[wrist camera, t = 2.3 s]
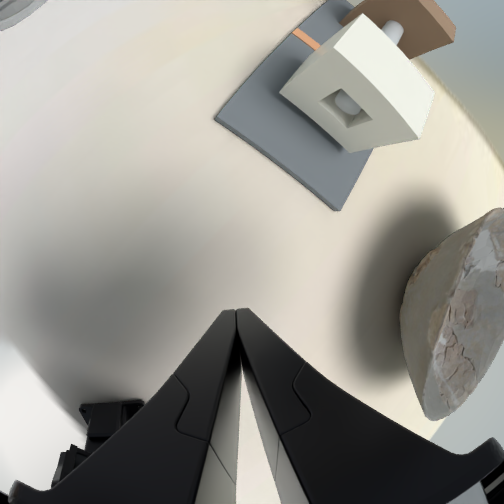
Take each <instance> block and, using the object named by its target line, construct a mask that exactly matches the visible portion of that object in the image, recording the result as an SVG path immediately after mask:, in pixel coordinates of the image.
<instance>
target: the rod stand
mask: <svg viewBox="0 0 504 504" xmlns="http://www.w3.org/2000/svg"><path fill="white" fill-rule="evenodd" d="M362 13H363V14H364V15H365V16H367V17H368V18H369V19H370V20H371V21H372V22H373V23H374V24H375V25H376V26H377V27H378V28H380V29H381V30H382V31H383V32H384V33H385V34H386V35H387V36H388V37H389V38H390V39H391V40H392V41H393V43H394V44H395V45H396V46H397V47H398V48H399V49H400V50H401V51H402V52H403V53H404V54H405V56H406V57H407V58H408V59H409V60H410V59H412V58H414V57H417V56H419V55H422V54H424V53H426V52H429V51H431V50H434V49H437V48H439V47H442V46H445V45H447V44H450V43H453V42H454V37H455V30H456V27H455V25H454V24H453V23H452V21H451V20H450V19H449V18H448V16H447V15H446V14H445V13H444V12H443V10H442V9H441V8H440V7H439V6H438V5H437V4H436V2H435V1H434V0H364V1H362V2H361V3H360V4H359V5H357V6H356V7H354V6H353V5H351V4H350V3H349V2H348V1H346V0H328V1H327V2H326V3H324V4H323V5H322V6H321V7H320V8H319V9H317V10H316V11H315V12H314V13H313V14H312V15H311V16H310V17H308V18H307V19H306V20H305V21H304V22H303V23H302V24H301V25H300V26H299V27H298V28H296V29H295V30H294V31H293V32H292V33H291V34H290V35H289V36H288V37H287V38H286V39H285V40H284V41H283V42H282V43H281V44H280V45H279V46H278V47H277V48H276V49H275V50H274V51H273V52H272V53H271V54H270V55H269V56H268V57H267V59H266V60H265V61H264V62H263V63H262V64H261V65H260V66H259V67H258V68H257V69H256V70H255V72H254V73H253V74H252V75H251V76H250V77H249V78H248V79H247V80H246V82H245V83H244V84H243V85H242V86H241V87H240V89H239V90H238V91H237V92H236V93H235V94H234V96H233V97H232V98H231V99H230V100H229V102H228V103H227V104H226V105H225V107H224V108H223V109H222V110H221V111H220V113H219V114H218V115H217V117H216V118H215V120H216V121H217V122H219V123H220V124H222V125H223V126H225V127H226V128H227V129H229V130H230V131H232V132H233V133H235V134H236V135H238V136H239V137H240V138H242V139H243V140H245V141H246V142H247V143H249V144H250V145H252V146H253V147H254V148H256V149H257V150H259V151H260V152H261V153H263V154H264V155H265V156H267V157H268V158H269V159H271V160H272V161H273V162H275V163H276V164H277V165H279V166H280V167H281V168H282V169H284V170H285V171H286V172H288V173H289V174H290V175H291V176H293V177H294V178H295V179H296V180H298V181H299V182H300V183H301V184H303V185H304V186H305V187H306V188H308V189H309V190H310V191H311V192H313V193H314V194H315V195H316V196H317V197H319V198H320V199H321V200H322V201H323V202H325V203H326V204H327V205H328V206H329V207H330V208H332V209H333V210H334V211H341V209H342V207H343V205H344V203H345V201H346V200H347V198H348V196H349V194H350V192H351V190H352V189H353V187H354V185H355V183H356V181H357V179H358V177H359V175H360V173H361V172H362V170H363V168H364V166H365V164H366V162H367V160H368V158H369V156H370V154H371V152H372V150H373V148H371V149H366V150H362V151H357V152H353V153H349V152H348V151H347V150H346V149H345V148H344V147H343V146H342V145H341V144H339V143H338V142H337V141H336V140H335V139H334V138H333V137H332V136H331V135H330V134H329V133H327V132H326V131H325V130H324V129H323V128H322V127H321V126H319V125H318V124H317V123H316V122H315V121H314V120H312V119H311V118H310V117H309V116H308V115H307V114H305V113H304V112H303V111H302V110H300V109H299V108H298V107H297V106H296V105H294V104H293V103H292V102H290V101H289V100H288V99H287V98H285V97H284V96H283V95H281V94H280V93H279V92H280V90H281V89H282V88H283V87H284V85H285V84H286V83H287V82H288V80H289V79H290V78H291V77H292V76H293V74H294V73H295V72H296V71H297V70H298V68H299V67H300V66H301V65H302V64H303V62H304V61H305V60H306V59H307V58H308V57H309V55H311V54H312V53H313V52H314V51H315V50H316V49H318V48H319V47H320V46H321V45H322V44H324V43H325V42H326V41H327V40H328V39H330V38H331V37H332V36H333V35H335V34H336V33H337V32H338V31H340V30H341V29H342V28H344V27H345V26H346V25H347V24H349V23H350V22H351V21H353V20H354V19H355V18H357V17H358V16H359V15H361V14H362ZM335 103H336V105H337V106H338V107H339V108H340V109H341V110H342V111H343V112H345V113H347V114H350V115H357V114H359V112H360V111H361V109H362V108H361V107H360V106H359V105H358V104H357V103H356V102H355V101H354V100H353V99H352V98H351V97H350V96H349V95H348V94H347V93H346V92H345V91H344V90H343V89H341V90H340V92H339V93H338V95H337V96H336V98H335Z"/></svg>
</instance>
